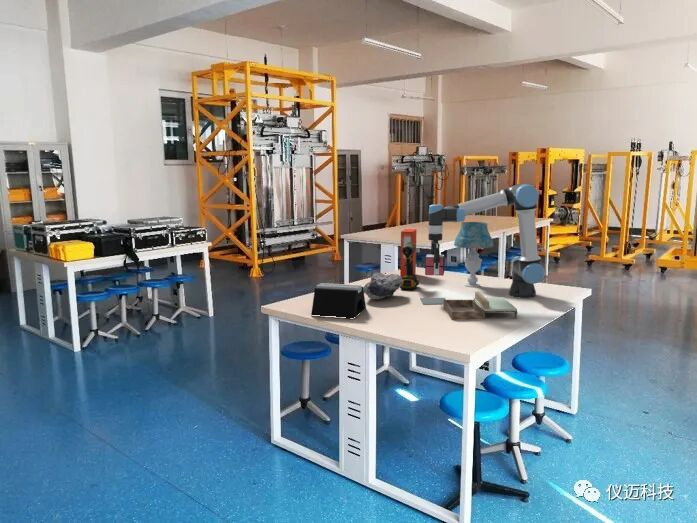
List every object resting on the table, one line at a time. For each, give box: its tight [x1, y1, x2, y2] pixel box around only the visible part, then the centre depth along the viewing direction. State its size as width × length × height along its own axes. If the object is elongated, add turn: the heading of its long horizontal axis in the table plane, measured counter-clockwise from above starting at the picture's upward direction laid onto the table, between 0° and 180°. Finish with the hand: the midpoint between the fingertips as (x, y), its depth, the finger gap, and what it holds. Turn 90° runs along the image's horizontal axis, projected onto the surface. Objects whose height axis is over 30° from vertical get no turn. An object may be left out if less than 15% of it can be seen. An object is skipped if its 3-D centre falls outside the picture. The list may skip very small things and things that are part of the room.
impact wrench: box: [399, 242, 420, 291], centre depth 349 cm, size 14×21×28 cm, turn 163°
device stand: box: [310, 282, 367, 318], centre depth 294 cm, size 22×22×15 cm
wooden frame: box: [443, 299, 518, 321], centre depth 289 cm, size 32×25×4 cm
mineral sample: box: [362, 272, 402, 300], centre depth 323 cm, size 27×19×15 cm
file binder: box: [399, 228, 418, 278], centre depth 387 cm, size 8×17×32 cm, turn 164°
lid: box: [473, 291, 518, 312], centre depth 289 cm, size 16×25×4 cm, turn 0°
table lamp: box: [453, 221, 494, 288], centre depth 352 cm, size 24×24×40 cm
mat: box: [420, 297, 447, 306], centre depth 316 cm, size 14×14×1 cm
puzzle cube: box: [424, 254, 445, 276], centre depth 312 cm, size 10×10×10 cm
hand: (434, 272), depth 313 cm, fingers closed on puzzle cube, 11 cm apart
